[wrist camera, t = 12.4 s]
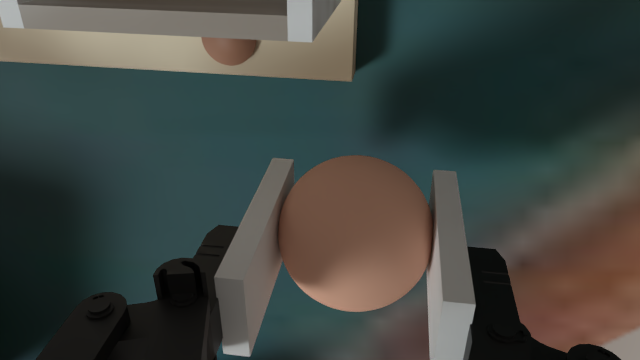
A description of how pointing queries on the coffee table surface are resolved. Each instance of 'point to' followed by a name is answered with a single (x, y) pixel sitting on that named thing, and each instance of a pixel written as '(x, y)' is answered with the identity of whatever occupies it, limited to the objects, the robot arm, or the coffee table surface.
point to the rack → (186, 35)
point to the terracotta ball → (355, 233)
